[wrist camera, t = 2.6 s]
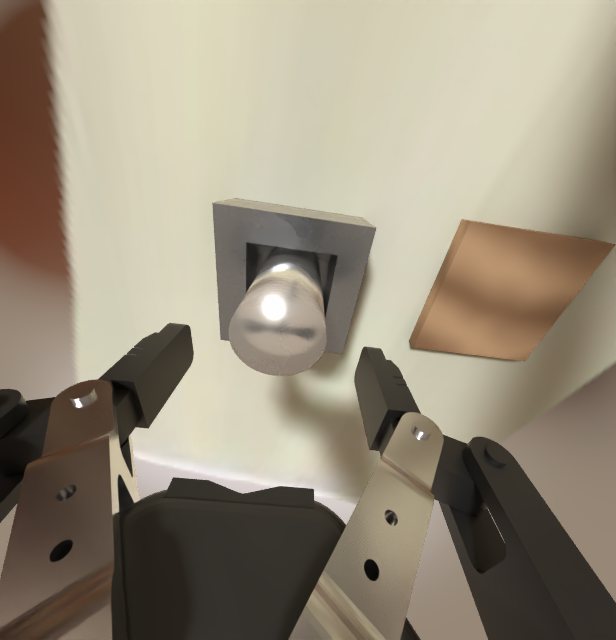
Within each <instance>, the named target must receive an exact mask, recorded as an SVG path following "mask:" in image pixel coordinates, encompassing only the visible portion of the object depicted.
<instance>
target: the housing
mask: <svg viewBox="0 0 616 640" xmlns="http://www.w3.org/2000/svg"><path fill="white" fill-rule="evenodd" d="M213 220H214V236H215V253H216V269H217V286H218V303H219V319H220V336H221V340H228V341H230V340H229V334H228V333H229V324H230V321H231V319H232V317H233V315H234V313H235V312H236V310H237V308H238V307H239V305H240V303H241V301H242V300H243V298H244V296H245V295H246V293H247V291H248V290H249V288H250V286H251V285H252V283H253V281H254V280H255V278H256V276H257V275H258V273H259V271H260V270H261V268H262V266H263V264H264V263H265V261H266V259H267V258H268V256H269V255H270V253H271V252H272V251H273V250H275V249H276V248H278V247H284V248H291V249H297V250H304V251H311V252H312V253H313V255H314V256H315V257H316V259H317V261H318V263H319V267H320V275H321V285H322V295H323V305H324V315H325V325H326V337H327V341H326V347H325V350H324V352H328V353H337V354H342V353H343V350H344V346H345V342H346V339H347V335H348V331H349V327H350V324H351V320H352V316H353V313H354V309H355V305H356V301H357V298H358V294H359V290H360V287H361V283H362V279H363V276H364V272H365V268H366V264H367V261H368V257H369V253H370V250H371V246H372V242H373V238H374V235H375V231H376V227H374V226H373V225H371V224H370V223H369V222H367V221H366V220H364V219H363V218H360V217H354V216H347V215H341V214H334V213H328V212H322V211H315V210H309V209H302V208H296V207H289V206H283V205H276V204H270V203H263V202H257V201H250V200H244V199H237V198H235V199H230V200H225V201H219V202H214V203H213Z"/></svg>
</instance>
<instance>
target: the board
mask: <svg viewBox="0 0 616 640" xmlns="http://www.w3.org/2000/svg"><path fill="white" fill-rule="evenodd" d="M615 245H616V244H612V243H607V242H602V241H596V240H590V239H583V238H577V237H571V236H564V235H558V234H552V233H545V232H539V231H533V230H526V229H520V228H514V227H507V226H501V225H495V224H488V223H482V222H476V221H469V220H463V219H462V221H461V223H460V225H459V228H458V230H457V232H456V234H455V237H454V239H453V241H452V244H451V246H450V248H449V251H448V253H447V255H446V257H445V260H444V262H443V264H442V267H441V269H440V271H439V273H438V276H437V278H436V280H435V283H434V285H433V287H432V289H431V292H430V294H429V296H428V299H427V301H426V303H425V305H424V308H423V310H422V312H421V315H420V317H419V319H418V322H417V324H416V326H415V328H414V331H413V333H412V335H411V338H410V340H409V341H410V343H411V344H412V346H413V348H421V349H430V350H438V351H446V352H454V353H462V354H470V355H478V356H486V357H494V358H503V359H511V360H519V361H525V360H526V358H527V357H528V356H529V354H530V353H531V352H532V351H533V349H534V348H535V347H536V345H537V344H538V343H539V342H540V340H541V339H542V338H543V337H544V335H545V334H546V333H547V331H548V330H549V329H550V328H551V326H552V325H553V324H554V322H555V321H556V320H557V319H558V317H559V316H560V315H561V314H562V312H563V311H564V310H565V308H566V307H567V306H568V305H569V303H570V302H571V301H572V299H573V298H574V297H575V296H576V294H577V293H578V292H579V291H580V289H581V288H582V287H583V285H584V284H585V283H586V282H587V280H588V279H589V278H590V276H591V275H592V274H593V273H594V271H595V270H596V269H597V268H598V266H599V265H600V264H601V262H602V261H603V260H604V259H605V257H606V256H607V255H608V253H609V252H610V251H611V250H612V248H613V247H614V246H615Z"/></svg>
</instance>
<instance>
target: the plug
mask: <svg viewBox="0 0 616 640" xmlns="http://www.w3.org/2000/svg"><path fill="white" fill-rule="evenodd" d="M228 334H229V340H230V344H231V346H232V349H233V350H234V352H235V354H236V355H237V356H238V357H239V359H241V360H242V361H243V362H244V363H245V364H246V365H248V366H249V367H251V368H252V369H254V370H256V371H259V372H261V373H265V374H268V375H274V376H287V375H293V374H297V373H300V372H303V371H305V370H307V369H309V368H310V367H312V366H313V365H314V364H315V363H316V362H317V361H318V360H319V359H320V357H321V356H322V354H323V352H324V350H325V347H326V341H327V337H326V325H325V315H324V305H323V295H322V285H321V275H320V267H319V263H318V261H317V259H316V257H315V256H314V255H313V253H312V252H311V251H304V250H297V249H291V248H284V247H278V248H276V249H275V250H273V251H272V252H271V253H270V255H269V256H268V258H267V259H266V261H265V263H264V264H263V266H262V268H261V270H260V271H259V273H258V275H257V276H256V278H255V280H254V281H253V283H252V285H251V286H250V288H249V290H248V291H247V293H246V295H245V296H244V298H243V300H242V301H241V303H240V305H239V307H238V308H237V310H236V312H235V313H234V315H233V317H232V319H231V321H230V324H229V333H228Z"/></svg>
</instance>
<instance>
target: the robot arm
mask: <svg viewBox="0 0 616 640" xmlns="http://www.w3.org/2000/svg"><path fill="white" fill-rule="evenodd" d="M193 354H194V353H193V345H192V337H191V330H190V327H189V325H183V324H175V323H169V324H167V325H166V326H165V327H164V328H163V329H162V330H161V331H160V332H159V333H153V334H151V335H149V336H147V337H145V338H143V339H142V340H141V341H140V342H139V343H138V344H137V345H135V346H134V348H132V349H131V350H130V351H129V352H128V353H127V355H124V356H123V357H122V358H121V359H120V360H119V361H118V362H117V363H116V364H114V365H113V366H112V367H111V368H110V369H109V370H108V371H107V372H106V373H105V374H103V375H102V376H101V377H100V378H99V379H98V380H88V381H84V382H80V383H77V384H75V385H73V386H70V387H69V388H67V389H65V390H64V391H62V392H61V393H59V394H58V395H57V396H56V397H53V398H45V399H37V400H29V401H25V399H24V398H23V396H22V395H21V393H20V392H19V391H17V390H13V389H1V390H0V522H1V521H2V520H3V519H4V518H5V517H6V516H7V514H8V513H9V512H10V511H11V510H12V509H13V507H14V506H15V505H16V504H17V507H16V512H15V516H14V521H13V525H12V529H11V534H10V538H9V542H8V547H7V551H6V556H5V560H4V564H3V569H2V573H1V577H0V640H421V639H420V638H419V636H418V635H417V633H416V632H415V630H414V629H413V627H412V625H411V624H410V622H409V621H408V620H407V618H406V615H407V610H408V607H409V602H410V598H411V594H412V590H413V586H414V582H415V578H416V574H417V570H418V565H419V561H420V557H421V553H422V549H423V545H424V541H425V537H426V533H427V529H428V525H429V520H430V516H431V512H432V508H433V504H434V499H435V500H438V501H439V503H440V506H441V509H442V512H443V515H444V517H445V520H446V523H447V526H448V529H449V531H450V534H451V537H452V540H453V543H454V545H455V548H456V551H457V554H458V556H459V559H460V562H461V565H462V567H463V570H464V573H465V576H466V579H467V582H468V584H469V587H470V590H471V592H472V596H473V598H474V601H475V604H476V607H477V609H478V612H479V615H480V618H481V621H482V623H483V626H484V629H485V632H486V635H487V637H488V640H616V603H615V601H614V600H613V598H612V597H611V595H610V594H609V593H608V591H607V590H606V589H605V587H604V585H603V584H602V582H601V581H600V580H599V578H598V577H597V576H596V574H595V573H594V571H593V570H592V569H591V567H590V565H589V564H588V563H587V561H586V560H585V558H584V557H583V555H582V554H581V552H580V551H579V550H578V548H577V547H576V545H575V544H574V542H573V541H572V540H571V538H570V537H569V535H568V534H567V533H566V531H565V530H564V528H563V527H562V525H561V524H560V522H559V521H558V520H557V518H556V517H555V515H554V514H553V513H552V511H551V509H550V508H549V507H548V505H547V504H546V502H545V501H544V499H543V498H542V497H541V495H540V494H539V492H538V491H537V489H536V488H535V487H534V485H533V484H532V482H531V481H530V480H529V478H528V477H527V475H526V474H525V472H524V471H523V470H522V468H521V467H520V465H519V464H518V462H517V461H516V460H515V458H514V457H513V456H512V455H511V454H510V453H509V452H508V451H507V450H506V449H505V448H503V447H502V446H501V445H499V444H498V443H496V442H494V441H492V440H490V439H488V438H484V437H475V438H473V439H472V440H471V441H470V442H469V443H468V444H466V443H463V442H461V441H458V440H456V439H453V438H450V437H448V436H445V435H443V434H442V432H441V430H440V429H439V427H438V426H437V425H436V424H435V423H434V422H433V421H432V420H431V419H429V418H428V417H426V416H424V415H422V414H421V413H420V411H419V409H418V407H417V405H416V403H415V401H414V399H413V396H412V394H411V392H410V390H409V388H408V387H407V384H406V382H405V380H404V379H403V376H402V374H401V372H400V370H399V368H398V367H397V366H396V365H395V364H394V363H393V362H392V361H391V360H386V359H385V356H384V354H383V352H382V350H381V349H380V348H372V347H364V348H363V349H362V352H361V355H360V359H359V362H358V365H357V368H356V371H355V387H356V392H357V396H358V401H359V405H360V409H361V414H362V418H363V423H364V427H365V432H366V436H367V441H368V445H369V450H376V451H379V452H380V456H381V459H380V461H379V463H378V465H377V467H376V468H375V470H374V472H373V474H372V476H371V478H370V480H369V482H368V484H367V486H366V488H365V490H364V492H363V494H362V496H361V498H360V500H359V502H358V504H357V506H356V508H355V510H354V512H353V514H352V516H351V518H350V520H349V522H348V523H347V525H346V524H345V523H344V522H343V521H342V520H341V519H340V518H339V517H338V516H337V515H336V514H335V513H334V512H333V511H331V510H330V509H329V508H328V507H326V506H324V505H322V504H321V503H319V502H317V501H314V489H308V488H295V487H283V486H279V487H274V488H269V489H265V490H260V491H255V492H250V493H245V494H241V493H238V492H236V491H233V490H231V489H228V488H226V487H223V486H221V485H219V484H216V483H214V482H211V481H209V480H197V479H185V478H173V479H172V481H171V483H170V485H169V487H168V489H167V490H163V491H160V492H157V493H154V494H152V495H149V496H147V497H145V498H143V499H140V495H139V491H138V487H137V482H136V474H135V465H134V457H133V449H132V440H131V436H130V434H131V433H132V431H133V430H134V429H135V427H140V428H149V427H150V425H151V424H152V422H153V421H154V419H155V418H156V416H157V415H158V413H159V412H160V410H161V409H162V407H163V406H164V404H165V403H166V401H167V400H168V398H169V397H170V395H171V394H172V392H173V391H174V389H175V388H176V386H177V385H178V383H179V382H180V381H181V379H182V378H183V376H184V375H185V373H186V372H187V370H188V369H189V367H190V366H191V363H192V361H193ZM487 508H488V509H489V511H490V513H491V515H492V517H493V519H494V521H495V523H496V525H497V527H498V529H499V531H500V533H501V535H502V537H503V539H504V541H503V539H502V537H501V535H500V533H499V531H498V529H497V527H496V525H495V523H494V521H493V519H492V517H491V515H490V513H489V511H488V509H487ZM504 542H505V543H504Z"/></svg>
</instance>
